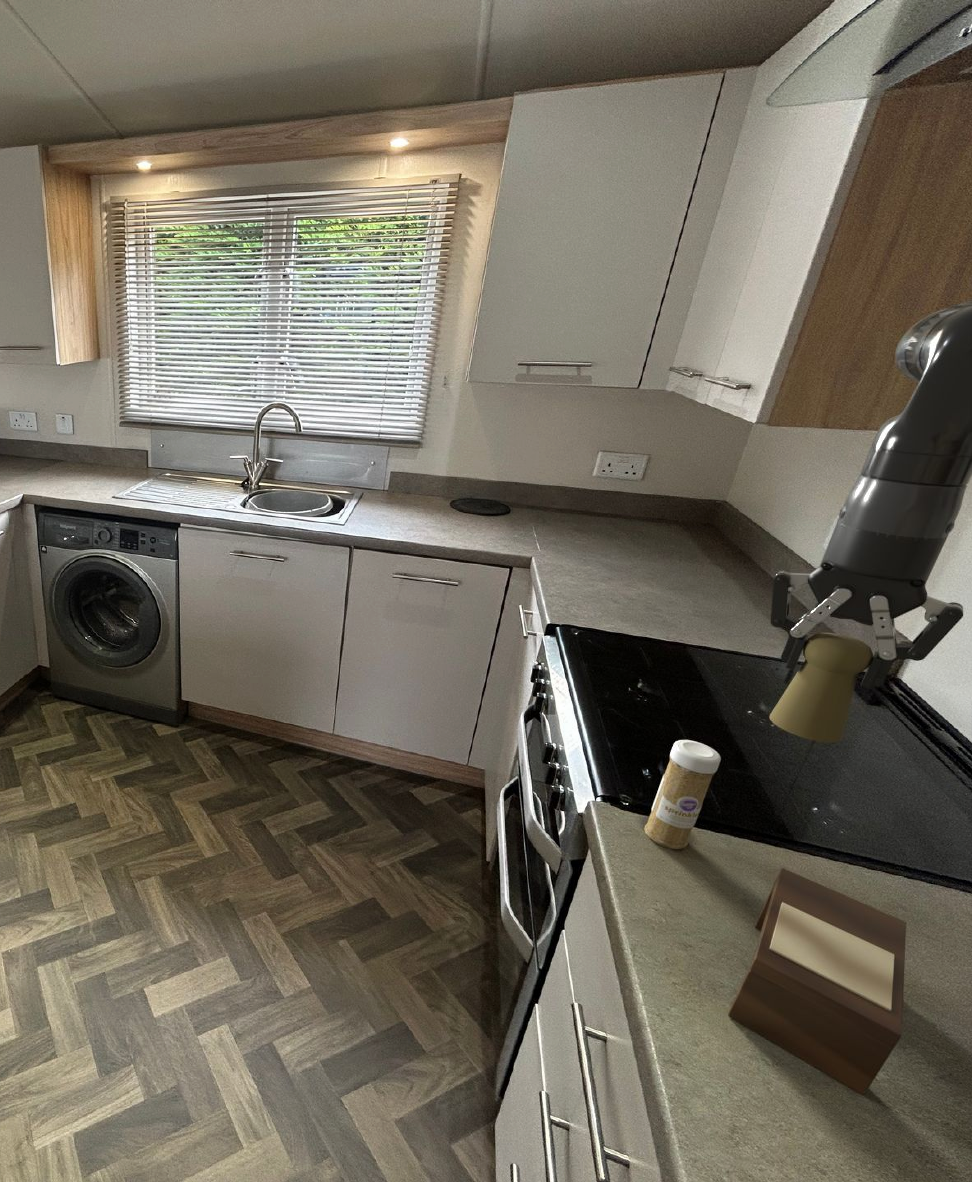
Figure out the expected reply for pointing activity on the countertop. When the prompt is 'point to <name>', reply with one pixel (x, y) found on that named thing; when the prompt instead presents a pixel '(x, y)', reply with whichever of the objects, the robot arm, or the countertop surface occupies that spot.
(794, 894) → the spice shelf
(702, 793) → the sprinkles bottle
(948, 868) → the countertop surface
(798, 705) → the cork
